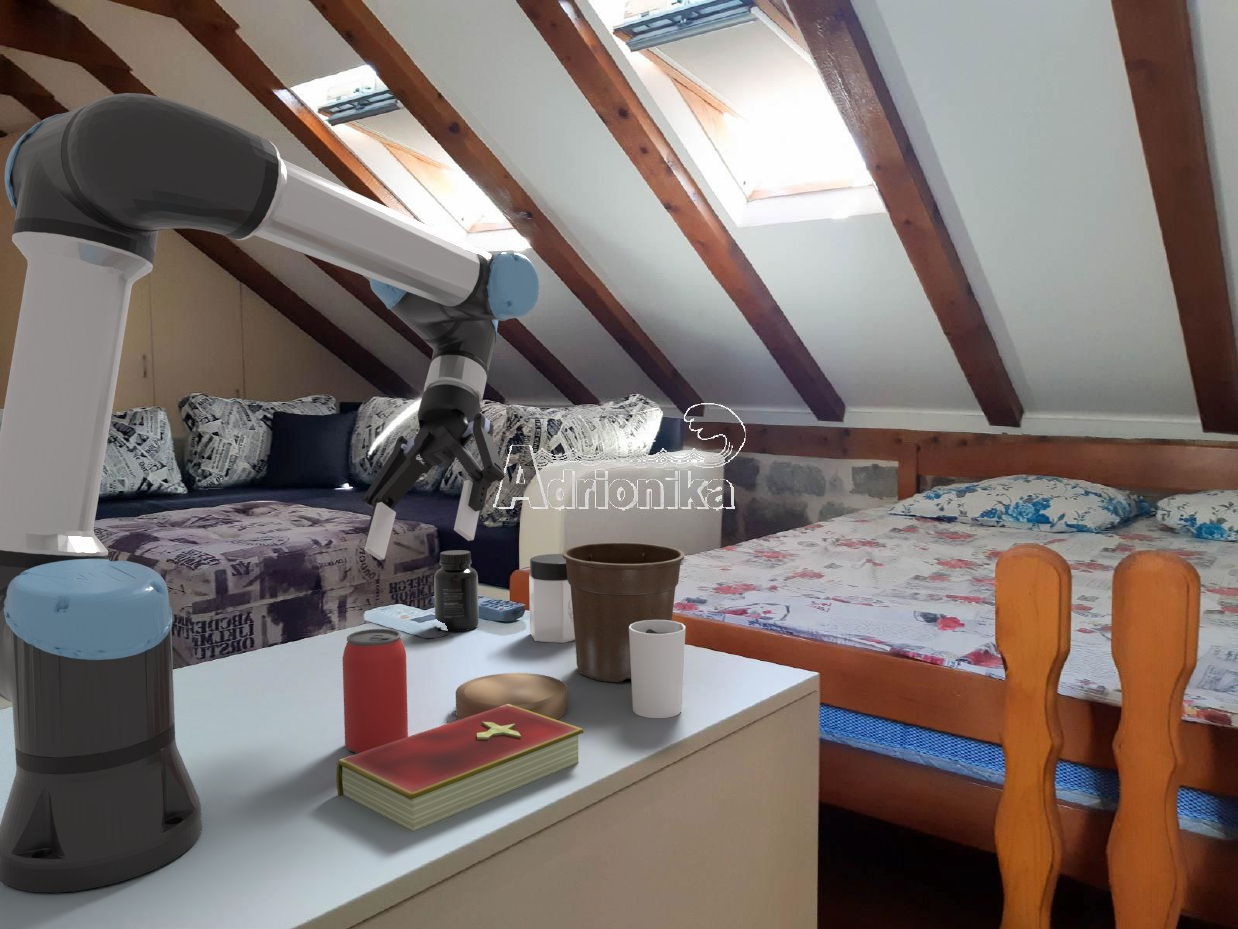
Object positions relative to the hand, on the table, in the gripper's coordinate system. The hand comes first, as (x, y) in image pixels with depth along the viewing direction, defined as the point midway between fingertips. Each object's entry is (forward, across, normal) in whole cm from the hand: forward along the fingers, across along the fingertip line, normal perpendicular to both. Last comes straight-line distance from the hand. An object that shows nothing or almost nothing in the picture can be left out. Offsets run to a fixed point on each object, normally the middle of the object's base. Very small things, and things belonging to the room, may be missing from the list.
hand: (417, 545), depth 111 cm
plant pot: (+3, -8, -34) cm, 35 cm away
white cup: (+13, -19, -26) cm, 34 cm away
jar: (-6, +8, -40) cm, 41 cm away
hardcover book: (+27, -10, -4) cm, 29 cm away
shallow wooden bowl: (+14, -4, -17) cm, 22 cm away
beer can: (+22, +3, -3) cm, 23 cm away
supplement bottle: (-8, +24, -36) cm, 44 cm away
